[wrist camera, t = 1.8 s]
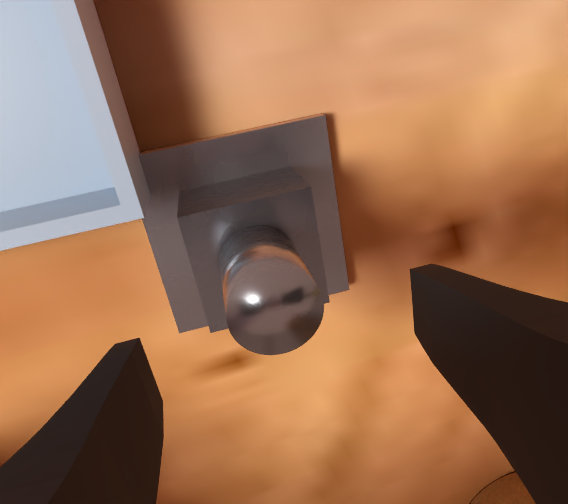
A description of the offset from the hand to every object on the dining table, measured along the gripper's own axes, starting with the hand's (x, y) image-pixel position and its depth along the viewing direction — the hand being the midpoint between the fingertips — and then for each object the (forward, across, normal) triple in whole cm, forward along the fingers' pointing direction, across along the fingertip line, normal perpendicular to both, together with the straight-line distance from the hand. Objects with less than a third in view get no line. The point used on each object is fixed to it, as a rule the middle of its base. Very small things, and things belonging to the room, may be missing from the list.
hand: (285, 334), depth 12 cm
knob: (+8, 0, 0) cm, 8 cm away
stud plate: (+9, 0, 0) cm, 9 cm away
